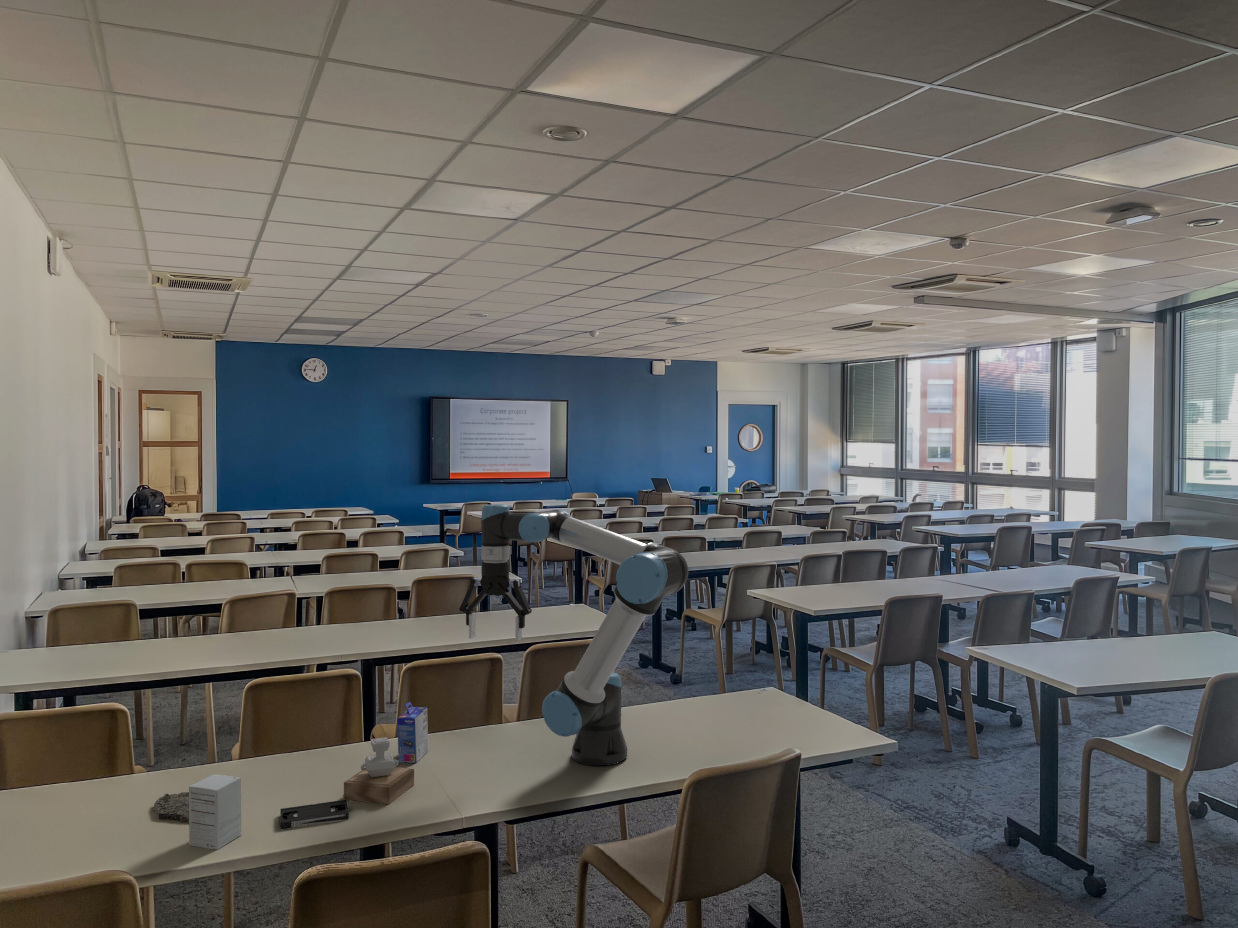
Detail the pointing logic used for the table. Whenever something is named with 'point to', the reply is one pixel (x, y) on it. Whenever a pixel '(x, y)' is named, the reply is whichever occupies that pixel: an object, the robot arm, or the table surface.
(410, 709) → the ink cartridge box
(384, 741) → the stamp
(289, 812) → the vhs tape
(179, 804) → the stone slab
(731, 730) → the table surface
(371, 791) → the plinth
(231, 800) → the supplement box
